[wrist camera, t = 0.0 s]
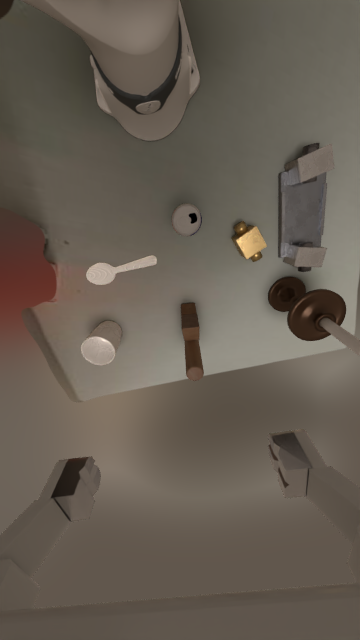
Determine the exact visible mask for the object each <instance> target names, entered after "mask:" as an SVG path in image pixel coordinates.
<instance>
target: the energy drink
mask: <svg viewBox="0 0 360 640" xmlns="http://www.w3.org/2000/svg"><path fill="white" fill-rule="evenodd" d="M201 222H202V217H201V213H200V211H199V210H198V208H197V207H196V206H194V205H192V204H189V203H185V204H181V205H179V206H178V207H177V208H176V209H175V210H174V212H173V214H172V226H173V228H174V230H175V231H176V232H177V233H178V234H180V235H182V236H191V235H193V234H195V233H196V232H197V231H198V230H199V228H200V226H201Z"/></svg>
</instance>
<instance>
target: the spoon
mask: <svg viewBox="0 0 360 640" xmlns="http://www.w3.org/2000/svg"><path fill="white" fill-rule="evenodd" d="M156 263H157V258H156V257H155V256H153V255H151V256H148V257H145V258H141V259H138V260H136V261H133V262H130V263H127V264H124V265H121V266H118V267H112V266H111V265H109V264H107V263H97V264H95V265H93V266H92V267H90V268H89V270H88V271H87V275H86V277H87V279H88V280H89V281H90V282H92V283H94V284H98V285H105V284H108V283H110V282H112V281H113V279H114V278H115V275H116V273H118V272H123V271H127V270H132V269H138V268H143V267H147V266H152V265H155V264H156Z"/></svg>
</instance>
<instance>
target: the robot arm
mask: <svg viewBox="0 0 360 640" xmlns="http://www.w3.org/2000/svg"><path fill="white" fill-rule="evenodd" d="M20 1H22V2H25V3H27V4H29V5H31V6H33V7H35V8H37V9H39V10H40V11H42V12H44V13H46V14H47V15H49V16H51V17H52V18H54V19H56V20H57V21H59V22H61V23H62V24H64V25H65V26H67V27H68V28H70V29H71V30H73V31H74V32H75V33H77V34H78V35H79V36H80V37H82V38H83V40H84V41H85V43H86V44H87V46H88V47H89V49H90V51H91V54H92V55H90V62H91V65H92V68H94V77H95V87H96V96H97V103H98V105H99V107H100V109H101V110H102V111H104V112H105V113H107V114H109V115H111V116H113V117H114V118H115V119H116V120H117V121H118V122H119V123H120V124H121V125H122V127H123V128H124V129H125V130H126V131H127V132H129V133H130V134H131V135H133V136H135V137H136V138H139V139H142V140H146V141H154V140H159V139H162V138H164V137H166V136H167V135H169V134H170V133H171V132H172V131H173V130H174V129H175V128H176V127H177V126H178V124H179V123H180V121H181V119H182V117H183V115H184V112H185V109H186V106H187V103H188V101H189V99H190V98H191V97H192V96H193V94H194V93H195V92H196V90H197V89H198V87H199V84H200V76H199V72H198V68H197V64H196V60H195V56H194V53H193V49H192V45H191V41H190V37H189V33H188V29H187V26H186V22H185V18H184V14H183V10H182V6H181V3H180V0H20ZM191 70H192V71H193V73H192V74H191ZM268 440H269V442H270V444H269V446H268V447H269V448H268V449H269V455H270V459H271V462H272V465H273V468H274V470H275V471H277V472H278V481H279V484H280V487H281V489H282V492H283V495H284V497H285V498H292V497H305V496H307V499H308V500H309V501H310V502H311V503H312V504H313V505H314V506H315V507H316V508H317V509H318V510H319V511H320V512H321V513H322V514H323V515H324V516H325V517H326V518H327V519H328V520H329V521H330V522H331V523H332V524H333V525H334V526H335V527H336V528H337V529H338V530H339V531H340V532H341V533H342V534H343V535H344V536H345V538H346V539H347V540H348V541H349V542H350V543H351V544H352V548H351V551H350V554H349V558H348V562H347V565H348V567H349V569H350V571H351V573H352V575H353V577H354V579H355V581H356V583H347V584H334V585H321V586H310V587H296V588H284V589H271V590H258V591H246V592H234V593H221V594H209V595H196V596H183V597H172V598H159V599H146V600H133V601H121V602H109V603H96V604H84V605H71V606H58V607H46V608H34V606H35V603H36V600H37V597H38V594H39V592H40V587H39V585H38V584H37V583H36V582H35V581H34V580H32V579H31V578H32V576H33V575H34V574H35V573H36V571H37V570H38V568H39V567H40V565H41V564H42V563H43V561H44V560H45V559H46V557H47V556H48V554H49V553H50V551H51V550H52V549H53V547H54V546H55V545H56V543H57V542H58V540H59V539H60V537H61V536H62V535H63V533H64V532H65V530H66V529H67V528H68V526H69V525H70V522H72V521H79V520H86V519H90V515H91V512H92V509H93V505H94V502H95V500H94V497H93V495H94V494H95V493H96V492H97V490H98V488H99V485H100V477H101V475H100V470H99V468H98V467H97V466H96V465H94V462H95V460H94V459H93V457H92V456H91V457H82V458H73V459H64V460H59V461H58V462H57V463H56V465H55V467H54V469H53V471H52V473H51V475H50V477H49V479H48V481H47V483H46V485H45V487H44V489H43V491H42V493H41V495H40V497H39V499H38V500H35V501H34V502H33V503H32V504H31V505H30V506H29V507H28V508H27V509H26V510H25V511H24V512H23V513H22V514H21V515H20V516H19V517H18V518H17V519H16V520H15V521H14V522H13V523H12V524H11V525H10V526H9V527H8V528H7V529H6V530H5V531H4V532H3V533H2V534H1V535H0V640H360V487H359V486H357V485H356V484H355V483H353V482H352V481H350V480H349V479H348V478H346V477H345V476H343V475H342V474H341V473H340V472H338V471H337V470H335V469H334V468H333V467H331V466H328V467H327V465H326V464H325V462H324V460H323V459H322V457H321V455H320V454H319V452H318V450H317V449H316V447H315V445H314V444H313V442H312V440H311V439H310V437H309V435H308V434H307V432H306V431H305V430H304V429H299V430H292V431H291V430H289V431H282V432H275V433H269V434H268Z"/></svg>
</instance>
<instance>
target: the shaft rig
mask: <svg viewBox="0 0 360 640" xmlns="http://www.w3.org/2000/svg"><path fill="white" fill-rule="evenodd" d="M331 169H334V161H333V151H332V143H331V144H329V145H327V146H325V147H323V148H320V149H319V143H315V144H311V145H308V146H305V147H303V157H301V158H298V159H296V160H294V161H292V162H290V163H288V164H286V165H285V171H286V172H283V173H280V174H279V231H278V257H280V258H282V257H284V260H283V262H285V263H288V264H290V265H292V266H298V271H301V272H306V271H310V270H311V267H322V263H323V260H324V257H325V253H326V250H327V248H324V247H320V246H321V235H323V228H324V216H325V204H326V192H327V183H326V172H327V171H329V170H331Z"/></svg>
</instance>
